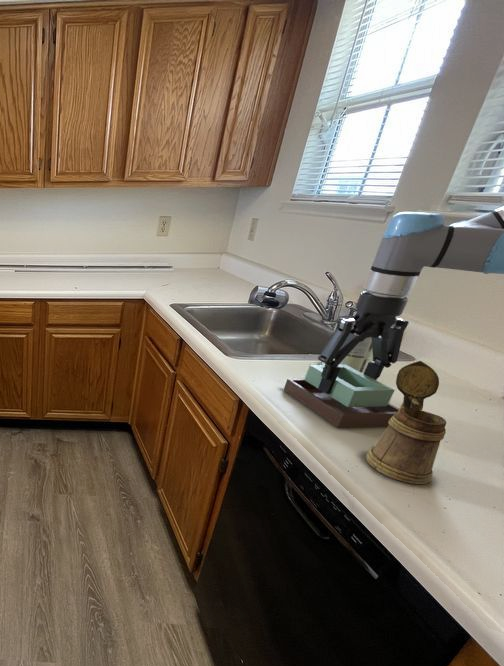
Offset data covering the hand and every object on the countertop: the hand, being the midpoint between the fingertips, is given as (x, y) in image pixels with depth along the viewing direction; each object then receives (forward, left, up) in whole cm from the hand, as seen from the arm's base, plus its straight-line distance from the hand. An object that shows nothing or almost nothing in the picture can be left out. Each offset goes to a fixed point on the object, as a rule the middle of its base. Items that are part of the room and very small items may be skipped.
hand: (344, 390), depth 95 cm
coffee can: (+19, -17, -4) cm, 26 cm away
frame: (0, 0, 0) cm, 0 cm away
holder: (0, 0, -4) cm, 4 cm away
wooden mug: (-20, +6, -4) cm, 21 cm away
